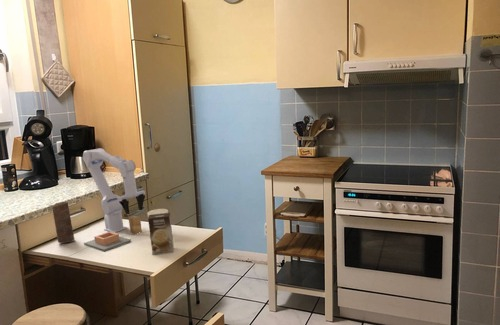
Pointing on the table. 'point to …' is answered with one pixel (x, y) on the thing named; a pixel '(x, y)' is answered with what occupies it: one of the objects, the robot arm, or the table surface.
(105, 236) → the collar board
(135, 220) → the oak peg
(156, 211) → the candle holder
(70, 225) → the brown tall block
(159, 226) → the coffee box
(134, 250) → the table surface
